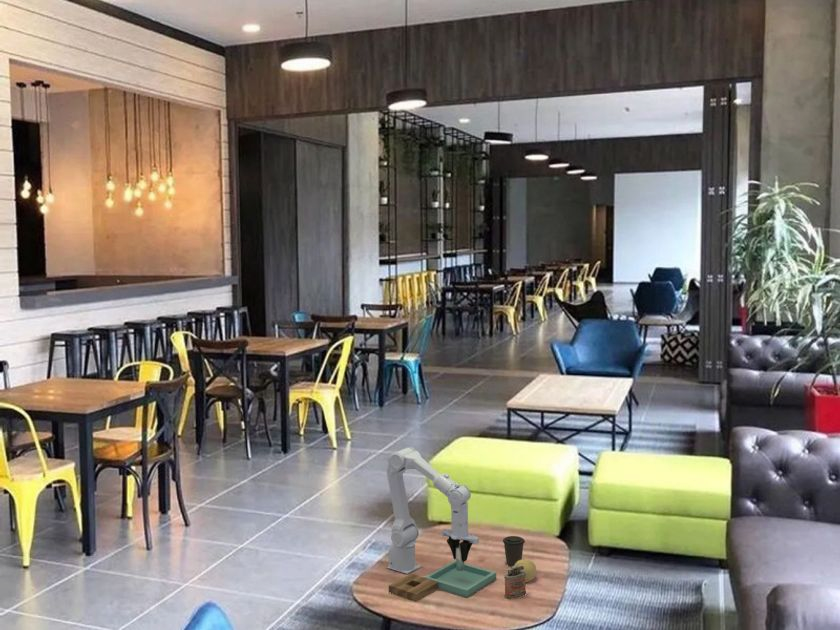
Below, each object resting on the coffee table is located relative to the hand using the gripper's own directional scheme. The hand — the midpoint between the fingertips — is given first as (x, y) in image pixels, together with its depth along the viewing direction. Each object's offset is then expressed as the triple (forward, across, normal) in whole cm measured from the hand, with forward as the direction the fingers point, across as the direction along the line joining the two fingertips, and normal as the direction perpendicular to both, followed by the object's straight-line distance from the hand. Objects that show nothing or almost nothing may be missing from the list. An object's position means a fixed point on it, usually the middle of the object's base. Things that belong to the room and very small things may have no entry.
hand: (460, 559), depth 285 cm
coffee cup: (+8, +7, +24) cm, 26 cm away
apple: (+8, +17, +15) cm, 24 cm away
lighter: (+8, +21, +2) cm, 23 cm away
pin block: (+8, -9, -15) cm, 19 cm away
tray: (+8, 0, 0) cm, 8 cm away
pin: (+3, 0, 0) cm, 3 cm away
